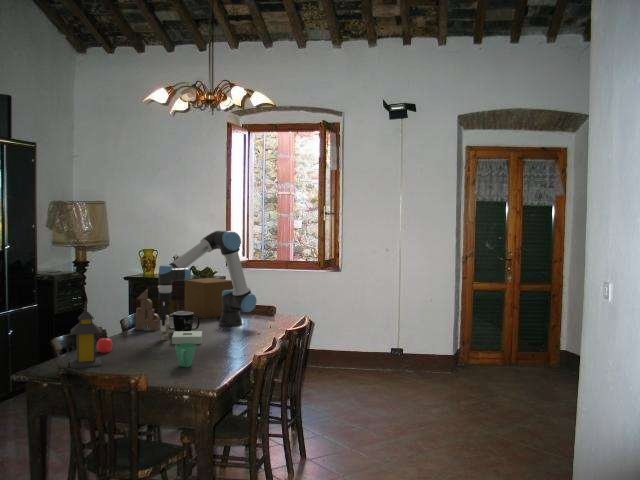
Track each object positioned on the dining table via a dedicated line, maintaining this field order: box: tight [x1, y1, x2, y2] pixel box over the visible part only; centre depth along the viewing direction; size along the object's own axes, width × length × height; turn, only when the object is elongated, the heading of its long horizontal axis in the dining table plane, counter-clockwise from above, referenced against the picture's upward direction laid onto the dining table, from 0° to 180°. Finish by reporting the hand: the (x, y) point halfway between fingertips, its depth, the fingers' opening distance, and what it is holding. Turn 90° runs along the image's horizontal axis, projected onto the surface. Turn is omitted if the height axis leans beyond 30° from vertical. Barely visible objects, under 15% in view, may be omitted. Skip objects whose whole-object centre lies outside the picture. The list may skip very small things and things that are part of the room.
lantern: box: [69, 301, 103, 369], centre depth 289 cm, size 14×14×30 cm
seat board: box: [171, 330, 203, 345], centre depth 345 cm, size 16×16×4 cm
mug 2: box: [174, 343, 197, 368], centre depth 287 cm, size 15×10×10 cm
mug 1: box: [169, 311, 201, 331], centre depth 369 cm, size 16×16×12 cm
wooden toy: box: [134, 289, 161, 332], centre depth 377 cm, size 15×7×25 cm, turn 81°
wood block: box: [184, 277, 234, 320], centre depth 435 cm, size 25×25×25 cm
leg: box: [160, 315, 170, 341], centre depth 347 cm, size 4×4×14 cm
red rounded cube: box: [96, 336, 114, 354], centre depth 315 cm, size 8×8×8 cm
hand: (164, 329), depth 347 cm, fingers open, 13 cm apart
